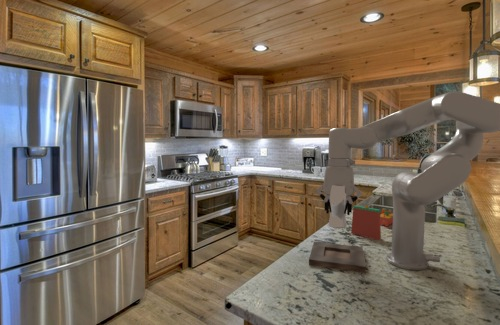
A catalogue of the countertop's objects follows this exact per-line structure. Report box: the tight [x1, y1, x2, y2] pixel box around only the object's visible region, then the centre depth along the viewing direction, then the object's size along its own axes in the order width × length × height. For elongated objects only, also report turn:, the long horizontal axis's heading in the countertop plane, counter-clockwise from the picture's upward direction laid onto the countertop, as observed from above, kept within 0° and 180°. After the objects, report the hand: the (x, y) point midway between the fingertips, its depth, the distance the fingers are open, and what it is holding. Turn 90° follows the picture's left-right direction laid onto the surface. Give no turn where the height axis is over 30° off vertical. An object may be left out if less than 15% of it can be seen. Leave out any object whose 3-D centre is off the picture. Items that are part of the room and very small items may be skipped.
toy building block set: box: [350, 204, 393, 241], centre depth 134 cm, size 12×35×14 cm, turn 134°
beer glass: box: [328, 185, 348, 229], centre depth 98 cm, size 7×7×15 cm
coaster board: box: [308, 241, 367, 274], centre depth 99 cm, size 18×18×2 cm
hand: (337, 213), depth 98 cm, fingers closed on beer glass, 6 cm apart
